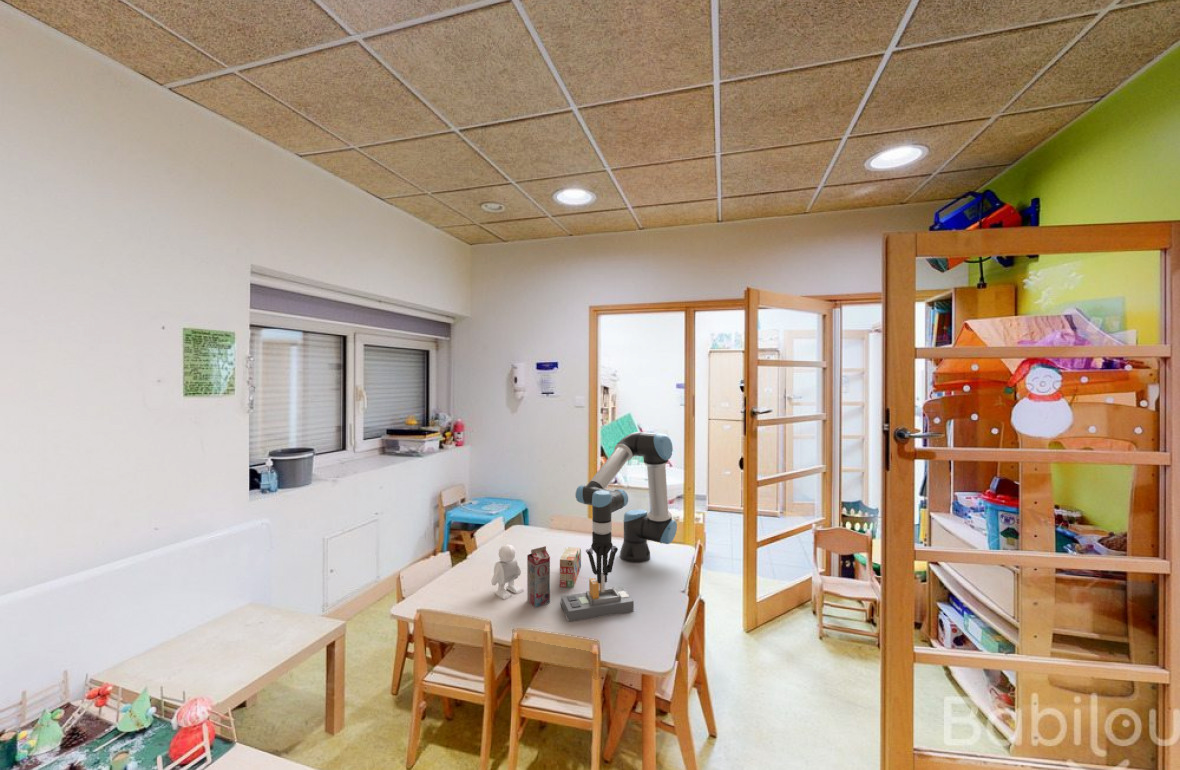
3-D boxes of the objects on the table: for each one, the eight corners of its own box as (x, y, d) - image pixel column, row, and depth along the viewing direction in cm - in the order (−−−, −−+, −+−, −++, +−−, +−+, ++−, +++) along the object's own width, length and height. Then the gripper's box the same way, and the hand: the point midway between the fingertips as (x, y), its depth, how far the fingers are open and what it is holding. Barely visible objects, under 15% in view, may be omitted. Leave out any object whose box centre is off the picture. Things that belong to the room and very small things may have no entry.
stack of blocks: (568, 566, 218) (568, 540, 218) (581, 566, 217) (581, 541, 217) (559, 587, 197) (559, 559, 196) (573, 588, 196) (573, 559, 196)
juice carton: (549, 602, 183) (549, 548, 183) (535, 607, 179) (535, 552, 179) (541, 595, 189) (541, 543, 188) (527, 600, 185) (527, 547, 184)
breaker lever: (595, 595, 181) (595, 577, 181) (599, 601, 176) (599, 583, 176) (589, 596, 180) (589, 578, 180) (592, 602, 176) (593, 583, 175)
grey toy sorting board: (622, 596, 188) (622, 583, 188) (633, 611, 177) (633, 597, 177) (561, 605, 181) (561, 592, 180) (568, 621, 169) (568, 607, 169)
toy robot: (499, 601, 184) (499, 552, 183) (487, 593, 190) (487, 546, 190) (526, 589, 194) (526, 543, 194) (514, 582, 200) (514, 537, 200)
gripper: (613, 526, 184) (614, 583, 185) (583, 529, 180) (583, 588, 181) (620, 532, 177) (620, 592, 177) (589, 536, 173) (589, 597, 174)
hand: (602, 590), depth 179 cm, fingers closed
